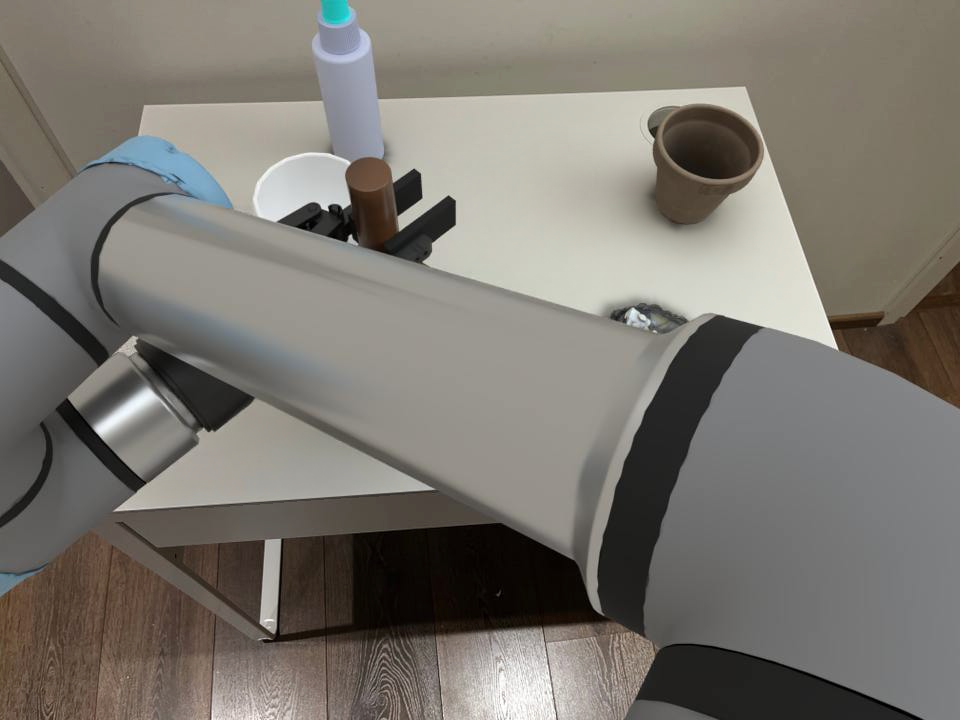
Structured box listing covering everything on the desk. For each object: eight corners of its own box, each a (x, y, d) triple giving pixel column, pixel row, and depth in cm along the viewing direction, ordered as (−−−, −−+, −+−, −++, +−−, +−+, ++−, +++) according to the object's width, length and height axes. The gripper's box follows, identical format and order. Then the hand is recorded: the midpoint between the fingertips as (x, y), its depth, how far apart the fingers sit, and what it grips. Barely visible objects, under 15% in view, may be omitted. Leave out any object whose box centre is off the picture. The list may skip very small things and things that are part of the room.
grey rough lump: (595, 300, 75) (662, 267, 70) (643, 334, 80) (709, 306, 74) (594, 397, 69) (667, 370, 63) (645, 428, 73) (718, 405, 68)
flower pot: (740, 245, 79) (775, 183, 71) (640, 242, 79) (663, 179, 71) (724, 170, 85) (755, 103, 76) (632, 167, 85) (651, 100, 76)
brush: (441, 297, 58) (434, 172, 45) (406, 341, 56) (388, 223, 43) (374, 259, 60) (349, 128, 47) (337, 300, 58) (301, 174, 45)
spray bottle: (386, 137, 86) (365, -38, 67) (383, 173, 83) (360, 1, 64) (337, 136, 86) (302, -40, 67) (332, 172, 83) (294, 0, 64)
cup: (404, 245, 78) (398, 184, 70) (330, 319, 73) (313, 263, 65) (322, 194, 82) (306, 130, 73) (245, 262, 77) (219, 201, 68)
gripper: (123, 344, 50) (370, 175, 59) (260, 498, 45) (509, 287, 54) (72, 284, 44) (359, 103, 52) (226, 455, 38) (516, 223, 47)
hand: (434, 197), depth 53 cm, fingers closed on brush, 3 cm apart
